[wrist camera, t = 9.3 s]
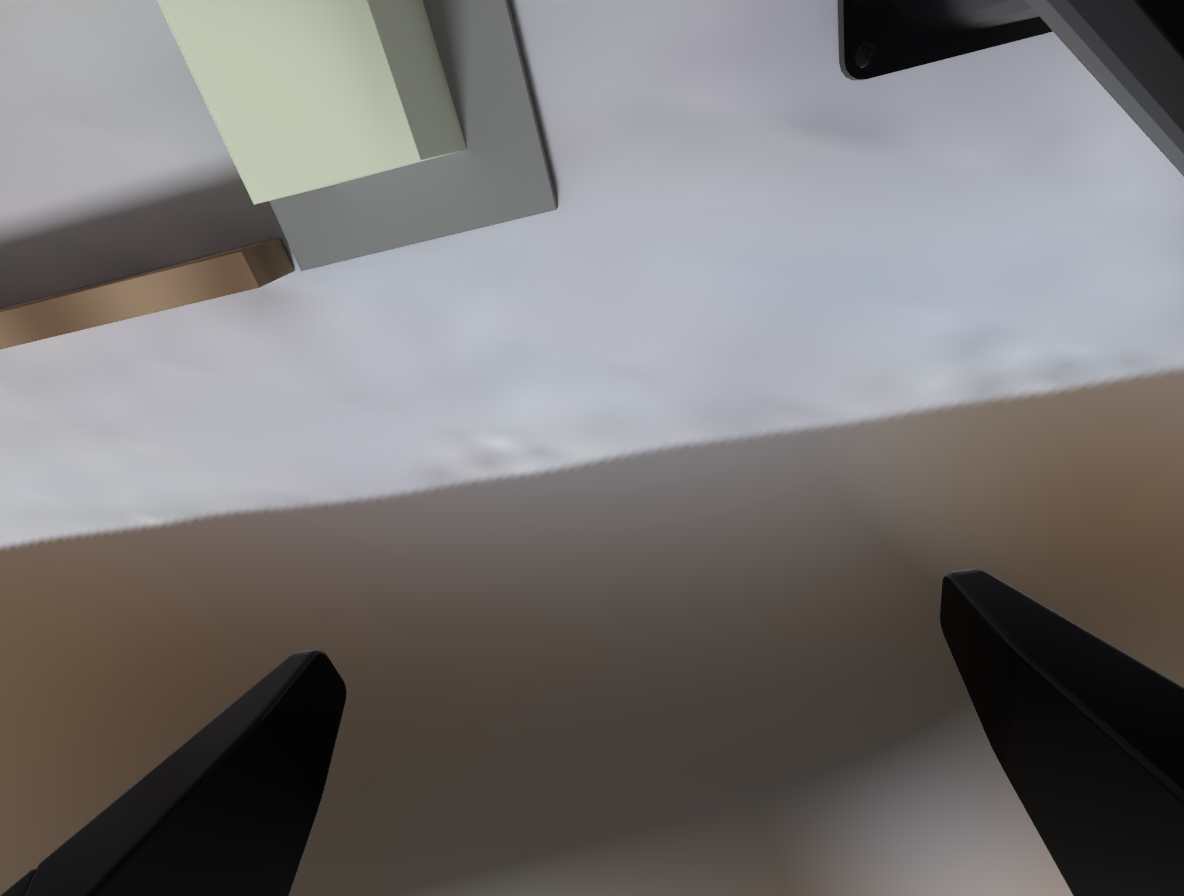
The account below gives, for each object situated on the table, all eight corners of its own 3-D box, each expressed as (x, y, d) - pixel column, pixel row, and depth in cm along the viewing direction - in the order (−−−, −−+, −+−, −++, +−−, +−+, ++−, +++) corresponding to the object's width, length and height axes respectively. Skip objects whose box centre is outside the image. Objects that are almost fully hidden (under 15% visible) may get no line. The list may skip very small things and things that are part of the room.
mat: (436, -299, 12) (429, -314, 12) (557, 207, 17) (556, 209, 16) (111, -169, 13) (94, -178, 13) (309, 267, 18) (301, 270, 18)
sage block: (378, -148, 13) (286, -241, 10) (467, 149, 16) (420, 160, 12) (221, -90, 14) (82, -158, 10) (333, 184, 16) (254, 204, 13)
